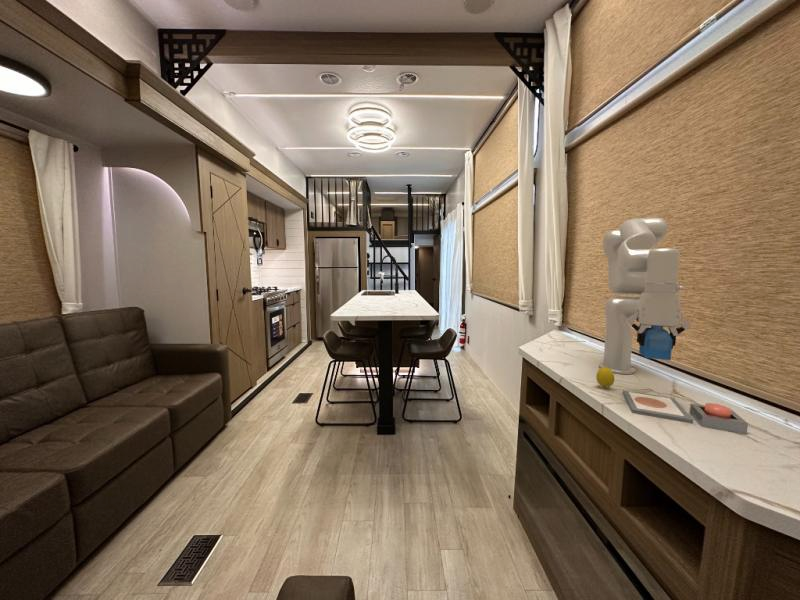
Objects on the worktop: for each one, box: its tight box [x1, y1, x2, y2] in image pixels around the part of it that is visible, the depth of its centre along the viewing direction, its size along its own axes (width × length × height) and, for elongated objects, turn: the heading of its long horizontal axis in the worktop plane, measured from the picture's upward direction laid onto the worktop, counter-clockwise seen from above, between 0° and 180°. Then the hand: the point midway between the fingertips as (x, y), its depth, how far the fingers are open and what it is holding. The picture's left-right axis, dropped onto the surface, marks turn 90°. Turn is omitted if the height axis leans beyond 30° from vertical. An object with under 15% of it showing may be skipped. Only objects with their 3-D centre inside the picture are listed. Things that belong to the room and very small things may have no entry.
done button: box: [704, 402, 732, 419], centre depth 88 cm, size 5×5×3 cm
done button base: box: [689, 403, 749, 435], centre depth 88 cm, size 9×9×3 cm
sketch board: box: [621, 389, 694, 424], centre depth 98 cm, size 17×14×1 cm
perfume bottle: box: [638, 326, 673, 361], centre depth 97 cm, size 6×6×12 cm
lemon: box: [595, 367, 615, 389], centre depth 113 cm, size 6×6×8 cm
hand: (655, 346), depth 97 cm, fingers closed on perfume bottle, 6 cm apart
